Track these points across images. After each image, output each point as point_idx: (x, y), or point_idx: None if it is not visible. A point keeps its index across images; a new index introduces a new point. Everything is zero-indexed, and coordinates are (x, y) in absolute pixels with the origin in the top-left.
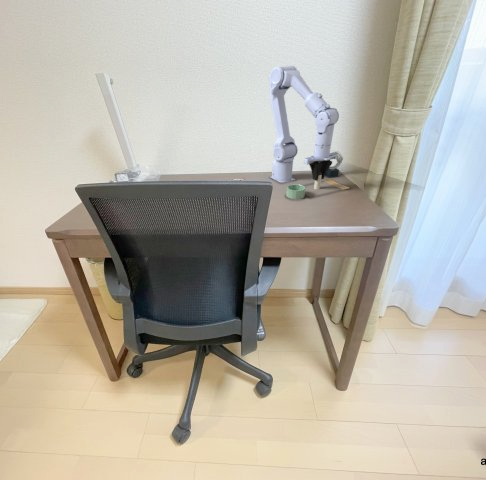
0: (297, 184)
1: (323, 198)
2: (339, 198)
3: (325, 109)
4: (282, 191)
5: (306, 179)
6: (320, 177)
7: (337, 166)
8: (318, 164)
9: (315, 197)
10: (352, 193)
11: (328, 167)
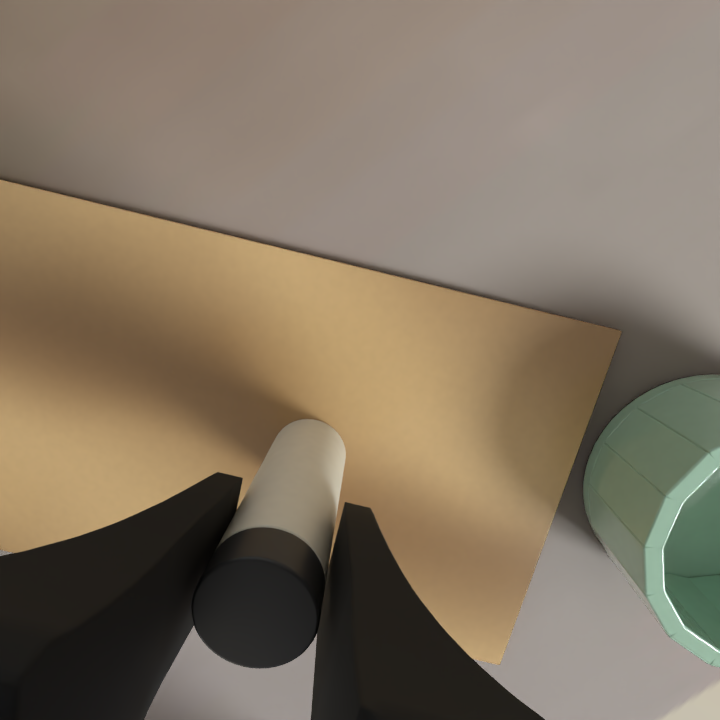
0: (662, 615)
1: (507, 201)
2: (353, 44)
3: None
4: (652, 669)
5: None
6: (285, 504)
7: None
8: None
9: (549, 295)
10: (64, 28)
11: (46, 558)
